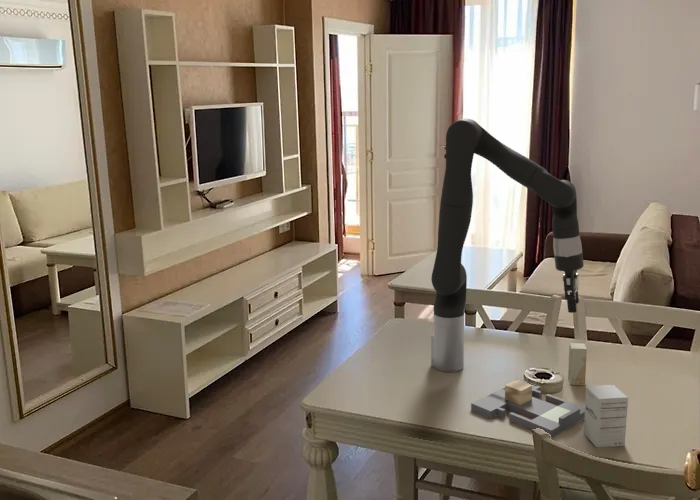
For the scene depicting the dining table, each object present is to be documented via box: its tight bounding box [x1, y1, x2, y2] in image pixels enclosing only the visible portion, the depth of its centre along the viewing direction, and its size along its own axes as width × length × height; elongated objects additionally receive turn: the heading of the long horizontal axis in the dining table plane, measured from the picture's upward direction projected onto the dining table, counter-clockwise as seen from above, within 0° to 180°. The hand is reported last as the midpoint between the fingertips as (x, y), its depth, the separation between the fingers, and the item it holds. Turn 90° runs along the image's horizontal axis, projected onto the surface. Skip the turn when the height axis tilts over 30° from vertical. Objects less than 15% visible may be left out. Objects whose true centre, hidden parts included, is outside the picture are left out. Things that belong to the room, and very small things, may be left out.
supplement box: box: [583, 384, 629, 448], centre depth 166 cm, size 7×7×13 cm
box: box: [567, 342, 588, 386], centre depth 199 cm, size 5×4×11 cm
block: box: [504, 379, 532, 405], centre depth 185 cm, size 5×5×4 cm
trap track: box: [470, 379, 585, 438], centre depth 182 cm, size 23×22×4 cm
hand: (573, 307), depth 196 cm, fingers open, 8 cm apart
